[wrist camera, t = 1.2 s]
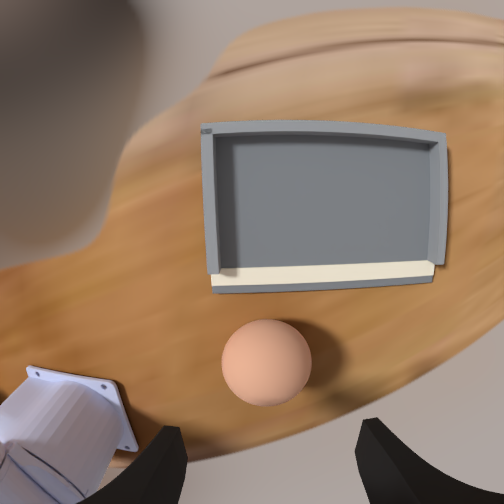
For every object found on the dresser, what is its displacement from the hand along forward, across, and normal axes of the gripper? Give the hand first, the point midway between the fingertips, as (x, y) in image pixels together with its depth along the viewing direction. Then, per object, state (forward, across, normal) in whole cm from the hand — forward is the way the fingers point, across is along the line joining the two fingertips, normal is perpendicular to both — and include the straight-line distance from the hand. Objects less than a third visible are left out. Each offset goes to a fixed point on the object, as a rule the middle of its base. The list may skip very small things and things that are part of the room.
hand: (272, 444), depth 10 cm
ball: (+6, 0, 0) cm, 6 cm away
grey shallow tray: (+9, -4, -8) cm, 13 cm away
